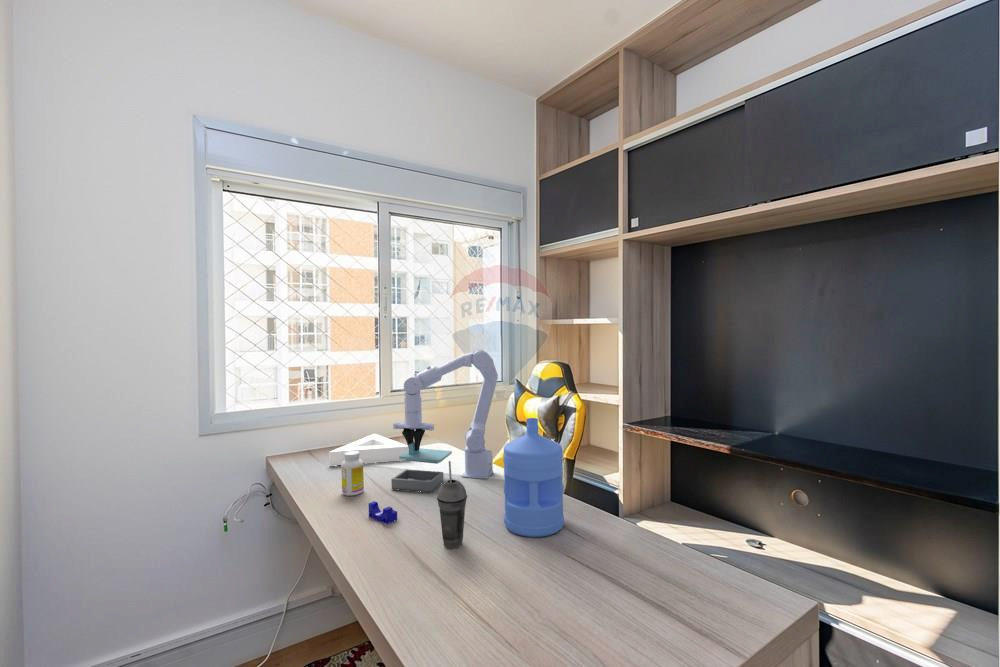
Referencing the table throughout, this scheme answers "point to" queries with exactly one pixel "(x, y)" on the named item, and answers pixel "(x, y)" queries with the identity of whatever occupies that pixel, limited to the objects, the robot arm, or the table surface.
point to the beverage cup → (452, 511)
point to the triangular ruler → (370, 450)
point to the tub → (417, 480)
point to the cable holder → (384, 517)
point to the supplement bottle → (352, 474)
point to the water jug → (533, 484)
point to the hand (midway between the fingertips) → (414, 450)
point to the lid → (424, 455)
